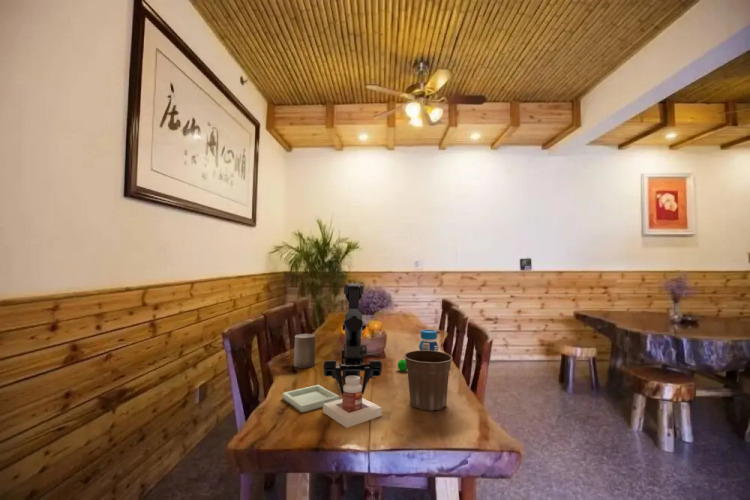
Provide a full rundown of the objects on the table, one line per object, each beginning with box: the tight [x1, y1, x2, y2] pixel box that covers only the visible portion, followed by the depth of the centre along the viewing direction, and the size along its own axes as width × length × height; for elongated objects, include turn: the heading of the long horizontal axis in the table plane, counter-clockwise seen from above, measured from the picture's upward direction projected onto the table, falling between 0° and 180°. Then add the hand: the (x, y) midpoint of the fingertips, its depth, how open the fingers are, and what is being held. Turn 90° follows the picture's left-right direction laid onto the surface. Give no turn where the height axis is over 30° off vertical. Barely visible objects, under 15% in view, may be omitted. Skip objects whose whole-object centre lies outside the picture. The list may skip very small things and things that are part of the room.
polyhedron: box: [397, 359, 407, 372], centre depth 149 cm, size 5×5×5 cm
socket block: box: [322, 397, 382, 429], centre depth 103 cm, size 13×13×2 cm
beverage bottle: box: [418, 329, 439, 351], centre depth 138 cm, size 8×8×20 cm
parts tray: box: [282, 384, 340, 414], centre depth 113 cm, size 14×14×2 cm
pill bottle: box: [341, 375, 363, 413], centre depth 103 cm, size 6×6×11 cm
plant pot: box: [403, 349, 453, 412], centre depth 112 cm, size 16×16×16 cm
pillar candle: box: [293, 332, 316, 369], centre depth 154 cm, size 10×10×15 cm
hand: (352, 393), depth 102 cm, fingers closed on pill bottle, 6 cm apart
